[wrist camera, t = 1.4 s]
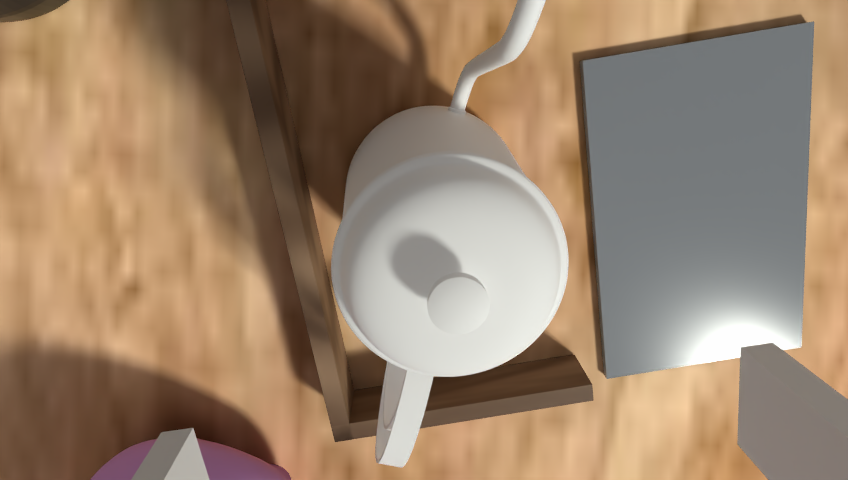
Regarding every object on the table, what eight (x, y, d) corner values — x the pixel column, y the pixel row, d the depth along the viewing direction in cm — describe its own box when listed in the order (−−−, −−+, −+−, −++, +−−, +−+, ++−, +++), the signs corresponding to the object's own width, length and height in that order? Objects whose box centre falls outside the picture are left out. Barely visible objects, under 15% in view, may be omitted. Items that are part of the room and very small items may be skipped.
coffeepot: (573, 2, 34) (765, -68, 16) (464, 367, 41) (513, 604, 23) (395, -47, 33) (386, -183, 15) (314, 337, 40) (241, 561, 22)
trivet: (579, 60, 35) (582, 60, 34) (807, 22, 35) (814, 21, 34) (603, 374, 41) (606, 378, 41) (795, 343, 41) (801, 347, 41)
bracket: (232, -50, 32) (210, -66, 29) (531, -102, 32) (549, -125, 28) (341, 407, 41) (334, 442, 38) (575, 369, 41) (593, 400, 37)
